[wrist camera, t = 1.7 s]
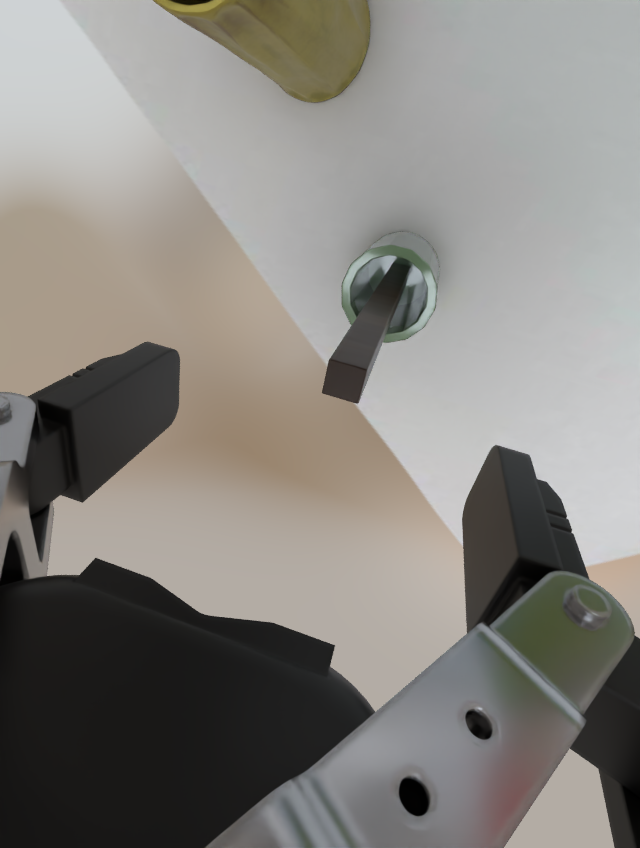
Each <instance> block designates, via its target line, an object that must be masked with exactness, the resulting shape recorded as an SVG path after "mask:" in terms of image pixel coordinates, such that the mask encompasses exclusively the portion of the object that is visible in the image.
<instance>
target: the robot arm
mask: <svg viewBox="0 0 640 848" xmlns="http://www.w3.org/2000/svg"><path fill="white" fill-rule="evenodd" d="M179 373H180V357H179V354H178V352H177V351H176V350H174V349H171V348H168V347H164V346H161V345H158V344H154V343H151V342H144V343H142V344H140V345H139V346H137V347H135V348H133V349H131V350H129V351H127V352H125V353H123V354H121V355H116V356H112V357H107V358H103V359H100V360H98V361H97V362H95V363H93V364H91V365H89V366H87V367H86V369H81V370H79V371H77V372H75V373H73V376H70V375H69V376H67V377H65V378H63V379H61V380H59V381H57V382H55V383H53V384H52V385H50V386H48V387H46V388H44V389H42V390H40V391H38V392H36V393H34V394H32V395H30V396H28V397H26V396H24V395H21V394H16V393H9V392H0V848H504V846H505V845H506V843H507V842H508V840H509V839H510V837H511V836H512V834H513V833H514V831H515V830H516V828H517V826H518V825H519V824H520V822H521V821H522V819H523V818H524V816H525V815H526V813H527V812H528V810H529V809H530V807H531V806H532V804H533V803H534V801H535V800H536V798H537V796H538V795H539V793H540V792H541V791H542V789H543V788H544V786H545V784H546V783H547V781H548V780H549V778H550V777H551V775H552V774H553V772H554V771H555V769H556V768H557V766H558V765H559V763H560V762H561V760H562V759H563V757H564V756H565V754H566V753H567V751H568V750H569V748H570V749H571V750H573V751H574V752H576V753H577V754H579V755H580V756H581V757H583V758H584V759H586V760H587V761H589V762H590V763H591V764H593V765H594V766H596V767H597V768H598V769H599V773H600V778H601V783H602V788H603V793H604V798H605V802H606V808H607V813H608V817H609V822H610V827H611V832H612V837H613V842H614V847H615V848H640V639H639V638H638V637H636V636H635V635H634V634H635V632H634V627H633V624H632V621H631V619H630V617H629V615H628V614H627V612H626V611H625V609H624V608H623V607H622V605H621V604H620V603H619V602H618V601H617V600H616V599H615V598H614V597H613V596H612V595H611V594H610V593H609V592H607V591H606V590H605V589H604V588H602V587H601V586H599V585H598V584H596V583H594V582H593V581H591V580H590V579H589V577H588V574H587V571H586V568H585V565H584V563H583V560H582V557H581V554H580V551H579V548H578V546H577V543H576V540H575V537H574V534H572V533H571V531H572V529H571V526H570V523H569V520H568V519H566V517H567V515H566V512H565V509H564V506H563V503H562V501H561V499H560V497H559V496H558V495H557V494H556V493H555V492H554V490H553V489H552V488H551V487H550V486H549V484H548V483H547V482H545V481H541V480H538V479H537V478H536V475H535V471H534V468H533V465H532V461H531V458H530V456H529V455H528V454H525V453H521V452H518V451H515V450H511V449H508V448H504V447H501V446H498V445H495V446H494V447H493V448H492V449H491V450H490V452H489V454H488V456H487V458H486V460H485V462H484V464H483V466H482V468H481V470H480V472H479V474H478V476H477V478H476V481H475V483H474V485H473V487H472V489H471V491H470V493H469V495H468V497H467V500H466V503H465V506H464V511H463V518H462V525H463V549H464V572H465V596H466V621H467V634H466V635H465V636H464V637H463V638H461V639H460V640H459V641H458V642H457V643H456V644H455V645H453V646H452V647H451V648H450V649H449V650H447V651H446V652H445V653H444V654H443V655H442V656H440V657H439V658H438V659H437V660H436V661H435V662H434V663H432V664H431V665H430V666H429V667H428V668H426V669H425V670H424V671H423V672H422V673H421V674H419V675H418V676H417V677H416V678H415V679H414V680H412V681H411V682H410V683H409V684H408V685H407V686H405V687H404V688H403V689H402V690H401V691H400V692H398V694H396V695H395V696H394V697H393V698H392V699H390V700H389V701H388V702H387V703H386V704H385V705H383V706H382V707H381V708H380V709H379V710H377V711H376V712H375V711H374V710H373V708H372V707H371V705H370V704H369V703H368V701H367V700H366V699H365V698H364V697H363V696H362V695H361V694H360V692H359V691H358V690H357V689H356V688H355V687H354V686H353V685H352V684H351V683H350V682H349V681H348V680H346V679H345V678H344V677H343V676H342V675H341V674H339V673H338V672H337V671H335V670H334V669H333V668H331V667H330V663H331V659H332V655H333V651H334V647H335V645H332V644H330V643H327V642H324V641H321V640H319V639H316V638H313V637H310V636H308V635H305V634H302V633H299V632H296V631H294V630H291V629H289V628H286V627H283V626H280V625H277V624H275V623H270V622H261V621H252V620H242V619H234V618H225V617H214V616H208V615H204V614H201V613H199V612H198V611H196V610H195V609H193V608H192V607H191V606H189V605H188V604H186V603H185V602H184V601H182V600H181V599H180V598H178V597H177V596H175V595H174V594H173V593H171V592H170V591H168V590H167V589H165V588H164V587H163V586H161V585H160V584H158V583H157V582H156V581H154V580H153V579H151V578H149V577H146V576H144V575H141V574H138V573H135V572H132V571H130V570H127V569H124V568H122V567H119V566H116V565H114V564H111V563H108V562H105V561H102V560H100V559H97V558H95V559H94V560H93V561H92V562H91V564H89V566H88V567H87V568H86V569H85V570H84V571H83V572H82V573H81V574H80V575H54V576H47V570H48V561H49V552H50V543H51V533H52V525H53V516H54V508H53V502H52V501H53V500H54V499H56V498H57V497H58V496H59V495H62V496H66V497H68V498H71V499H74V500H77V501H80V502H84V501H85V500H86V499H87V498H88V497H90V496H91V495H92V494H93V493H94V492H95V491H96V490H98V489H99V488H100V487H101V486H102V485H103V484H104V483H106V482H107V481H108V480H109V479H110V478H111V477H112V476H113V475H115V474H116V473H117V472H118V471H119V470H120V469H121V468H123V467H124V466H125V465H126V464H127V463H128V462H129V461H131V460H132V459H133V458H134V457H135V456H136V455H137V454H139V452H141V451H142V450H143V449H144V448H145V447H147V446H148V445H149V444H150V443H151V442H152V441H153V440H155V439H156V438H157V437H158V436H159V435H160V434H161V433H162V432H163V431H165V430H166V429H167V428H168V427H169V426H170V425H171V424H172V422H173V421H174V419H175V417H176V414H177V411H178V406H179V375H180V374H179Z"/></svg>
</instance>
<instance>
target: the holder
mask: <svg viewBox="0 0 640 848" xmlns="http://www.w3.org/2000/svg"><path fill="white" fill-rule="evenodd" d="M393 263H398V264H402V265H406V266H409V267H411V269H410V272H409V276H408V279H407V282H406V286H405V288H404V291H403V293H402V296H401V298H400V301H399V303H398V306H397V308H396V311H395V313H394V316H393V318H392V321H391V323H390V326H389V328H388V331H387V333H386V336H385V338H384V341H383V342H384V343H389V342H395V341H401V340H406V339H408V338H409V337H411V336H412V335H414V334H415V333H417V332H418V331H420V330H421V329H423V328H424V327H425V325H426V324H427V322H428V320H429V319H430V317H431V315H432V314H433V312H434V310H435V308H436V299H437V289H438V278H439V268H440V266H439V262H438V258H437V255H436V253H435V251H434V249H433V247H432V246H431V245H430V244H429V242H427V241H426V240H425V239H424V238H422V237H421V236H419V235H417V234H414V233H411V232H403V231H402V232H395V233H391V234H388V235H385V236H383V237H382V238H380V239H379V240H378V241H377V242H376V243H374V244H373V245H372V246H371V247H370V248H369V249H367V250H366V251H365V252H364V253H363V254H362V255H361V256H359V257H358V258H357V259H356V260H355V261H354V262H353V263H352V264H351V265H350V267H349V269H348V271H347V273H346V276H345V278H344V280H343V282H342V307H343V309H344V312H345V314H346V316H347V318H348V320H349V322H350V324H351V325H352V324H353V323H354V321H355V320H356V318H357V317H358V315H359V314H360V312H361V311H362V309H363V308H364V306H365V305H366V303H367V301H368V300H369V298H370V297H371V295H372V294H373V292H374V291H375V289H376V288H377V286H378V285H379V283H380V282H381V280H382V279H383V277H384V276H385V274H386V273H387V271H388V270H389V268H390V267H391V265H392V264H393Z"/></svg>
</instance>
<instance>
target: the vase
mask: <svg viewBox="0 0 640 848" xmlns="http://www.w3.org/2000/svg"><path fill="white" fill-rule="evenodd" d="M153 1H154V2H156V3H157V4H158V5H159V6H161V7H162V8H163V9H165V10H166V11H168V12H169V13H171V14H172V15H174V16H175V17H177V18H178V19H180V20H181V21H183V22H184V23H186V24H188V25H189V26H191V27H193V28H195V29H196V30H198V31H200V32H202V33H203V34H205V35H206V36H208V37H210V38H211V39H213V40H215V41H216V42H218V43H219V44H221V45H222V46H224V47H225V48H227V49H228V50H230V51H231V52H233V53H234V54H235V55H237V56H238V57H240V58H241V59H243V60H244V61H245V62H247V63H248V64H250V65H251V66H253V67H255V68H257V69H258V70H260V71H261V72H262V73H263V74H264V75H266V76H267V77H269V78H270V79H272V80H273V81H274V82H276V83H277V84H279V85H280V87H281V88H282V89H283V90H284V91H285V92H286V93H288V94H289V95H291V96H293V97H295V98H297V99H299V100H302V101H305V102H321V101H325V100H328V99H330V98H333V97H335V96H337V95H338V94H339V93H341V92H342V91H343V90H344V89H345V88H346V87H347V86H348V85H349V84H350V83H351V81H352V80H353V79H354V78H355V76H356V75H357V73H358V71H359V70H360V68H361V65H362V63H363V61H364V58H365V55H366V52H367V48H368V44H369V37H370V15H369V8H368V2H367V0H153Z"/></svg>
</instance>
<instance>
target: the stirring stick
mask: <svg viewBox="0 0 640 848" xmlns="http://www.w3.org/2000/svg"><path fill="white" fill-rule="evenodd" d="M410 269H411V267H409V266H406V265H402V264H398V263H393V264H392V265H391V267H390V268H389V270H388V271H387V273H386V274H385V276H384V277H383V279H382V280H381V282H380V283H379V285H378V286H377V288H376V289H375V291H374V292H373V294H372V295H371V297H370V298H369V300H368V301H367V303H366V305H365V306H364V308H363V309H362V311H361V312H360V314H359V315H358V317H357V318H356V320H355V321H354V323H353V324H352V326H351V327H350V329H349V330H348V332H347V333H346V335H345V336H344V338H343V339H342V341H341V343H340V344H339V346H338V347H337V349H336V350H335V352H334V353H333V355H332V356H331V358H330V359H329V362H328V367H327V372H326V376H325V381H324V386H323V390H322V393H323V394H326V395H330V396H333V397H337V398H340V399H343V400H347V401H350V402H353V403H359V401H360V398H361V396H362V393H363V391H364V388H365V386H366V383H367V381H368V378H369V376H370V373H371V371H372V368H373V366H374V363H375V361H376V358H377V356H378V353H379V351H380V348H381V346H382V343H383V341H384V338H385V336H386V333H387V331H388V328H389V326H390V323H391V321H392V318H393V316H394V313H395V311H396V308H397V306H398V303H399V301H400V298H401V296H402V293H403V291H404V288H405V286H406V282H407V279H408V276H409V272H410Z"/></svg>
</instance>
